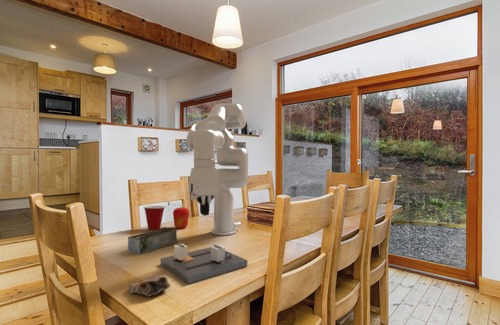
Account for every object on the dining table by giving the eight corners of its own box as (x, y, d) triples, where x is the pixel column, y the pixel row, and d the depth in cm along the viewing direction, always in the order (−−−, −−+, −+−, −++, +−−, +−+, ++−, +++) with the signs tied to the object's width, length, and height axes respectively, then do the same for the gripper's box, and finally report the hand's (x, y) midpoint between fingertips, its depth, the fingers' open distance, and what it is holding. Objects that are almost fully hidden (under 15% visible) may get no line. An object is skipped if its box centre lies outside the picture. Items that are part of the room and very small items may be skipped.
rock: (174, 289, 78) (150, 274, 83) (173, 272, 76) (149, 258, 81) (148, 310, 71) (124, 293, 76) (146, 292, 69) (121, 275, 74)
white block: (218, 256, 96) (218, 243, 96) (224, 259, 93) (224, 246, 93) (210, 258, 94) (210, 245, 94) (217, 261, 91) (217, 248, 91)
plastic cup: (169, 227, 149) (169, 204, 149) (158, 232, 139) (159, 207, 138) (150, 226, 151) (150, 203, 151) (138, 230, 141) (139, 207, 140)
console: (215, 251, 110) (215, 245, 110) (247, 266, 94) (247, 259, 94) (160, 264, 96) (160, 257, 96) (188, 284, 80) (188, 276, 80)
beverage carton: (126, 251, 109) (126, 235, 109) (165, 240, 125) (165, 225, 125) (139, 255, 105) (139, 238, 105) (177, 243, 121) (177, 227, 121)
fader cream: (182, 255, 97) (182, 242, 97) (187, 258, 94) (187, 245, 94) (174, 257, 96) (174, 243, 95) (179, 260, 92) (179, 246, 92)
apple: (191, 228, 146) (191, 206, 146) (175, 230, 142) (175, 207, 142) (186, 225, 154) (186, 203, 154) (171, 226, 150) (171, 204, 150)
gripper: (216, 163, 108) (216, 209, 109) (180, 164, 99) (181, 215, 100) (227, 163, 103) (227, 213, 103) (190, 165, 93) (191, 219, 94)
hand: (204, 214), depth 102 cm, fingers closed
